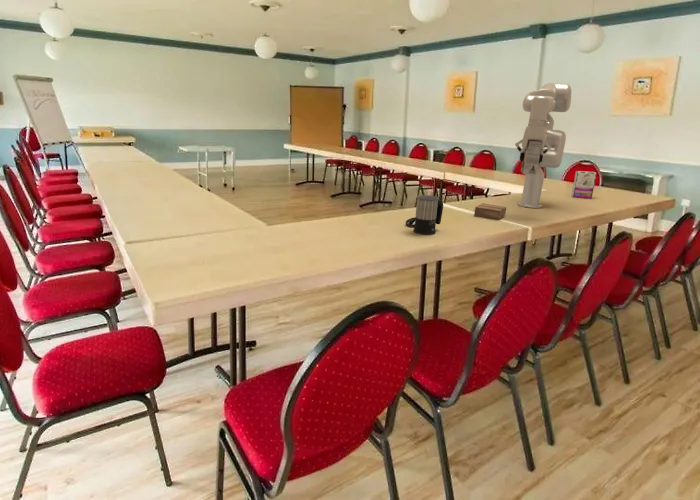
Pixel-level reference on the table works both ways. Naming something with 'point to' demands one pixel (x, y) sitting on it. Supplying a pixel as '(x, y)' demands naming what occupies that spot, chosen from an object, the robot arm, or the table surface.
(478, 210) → the walnut block
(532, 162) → the coffee box
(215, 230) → the table surface
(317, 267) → the table surface
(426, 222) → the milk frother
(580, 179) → the candy bar box
